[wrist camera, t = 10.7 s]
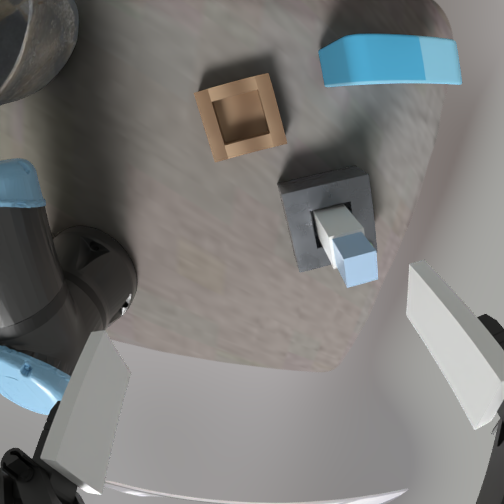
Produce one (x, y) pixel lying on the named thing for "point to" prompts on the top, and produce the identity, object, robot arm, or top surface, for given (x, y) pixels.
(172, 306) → the top surface
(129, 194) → the top surface
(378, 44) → the data package
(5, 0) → the grey metal pot
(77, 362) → the robot arm
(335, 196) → the port
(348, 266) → the plug
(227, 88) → the frame
